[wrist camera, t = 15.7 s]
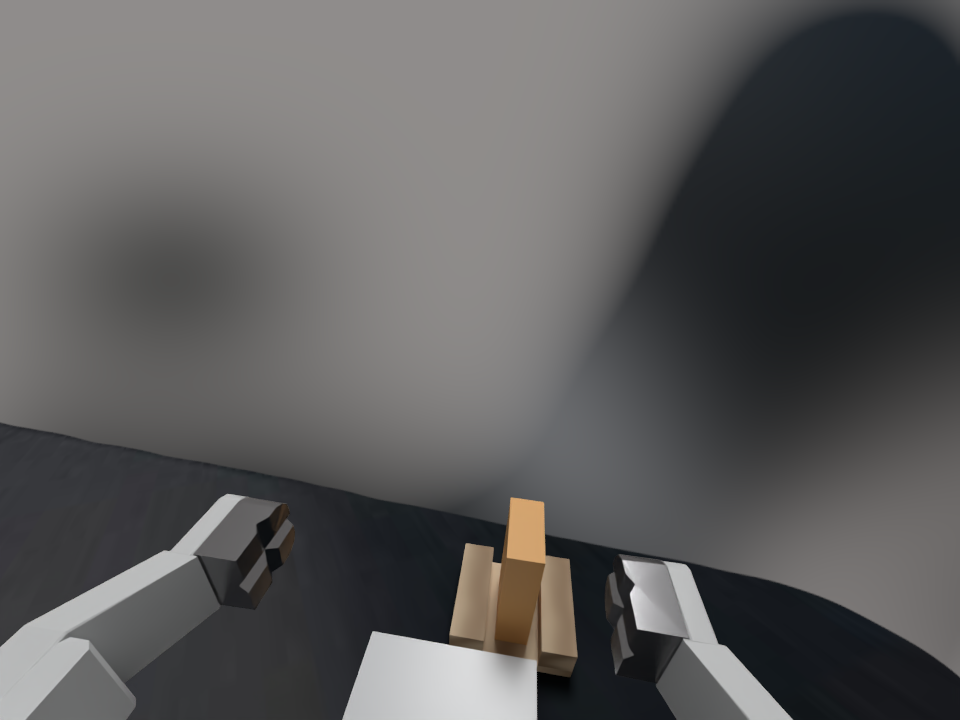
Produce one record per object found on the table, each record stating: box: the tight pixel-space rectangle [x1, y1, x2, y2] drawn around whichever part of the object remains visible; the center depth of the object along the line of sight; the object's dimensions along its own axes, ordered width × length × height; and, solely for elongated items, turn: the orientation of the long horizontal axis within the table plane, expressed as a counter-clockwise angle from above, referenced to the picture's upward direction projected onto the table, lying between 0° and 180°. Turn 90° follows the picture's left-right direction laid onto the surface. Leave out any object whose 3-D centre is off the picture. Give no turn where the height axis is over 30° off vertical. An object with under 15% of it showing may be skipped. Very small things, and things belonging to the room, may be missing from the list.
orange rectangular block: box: [494, 498, 545, 645], centre depth 35 cm, size 3×6×12 cm, turn 173°
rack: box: [449, 543, 577, 677], centre depth 38 cm, size 11×9×4 cm
